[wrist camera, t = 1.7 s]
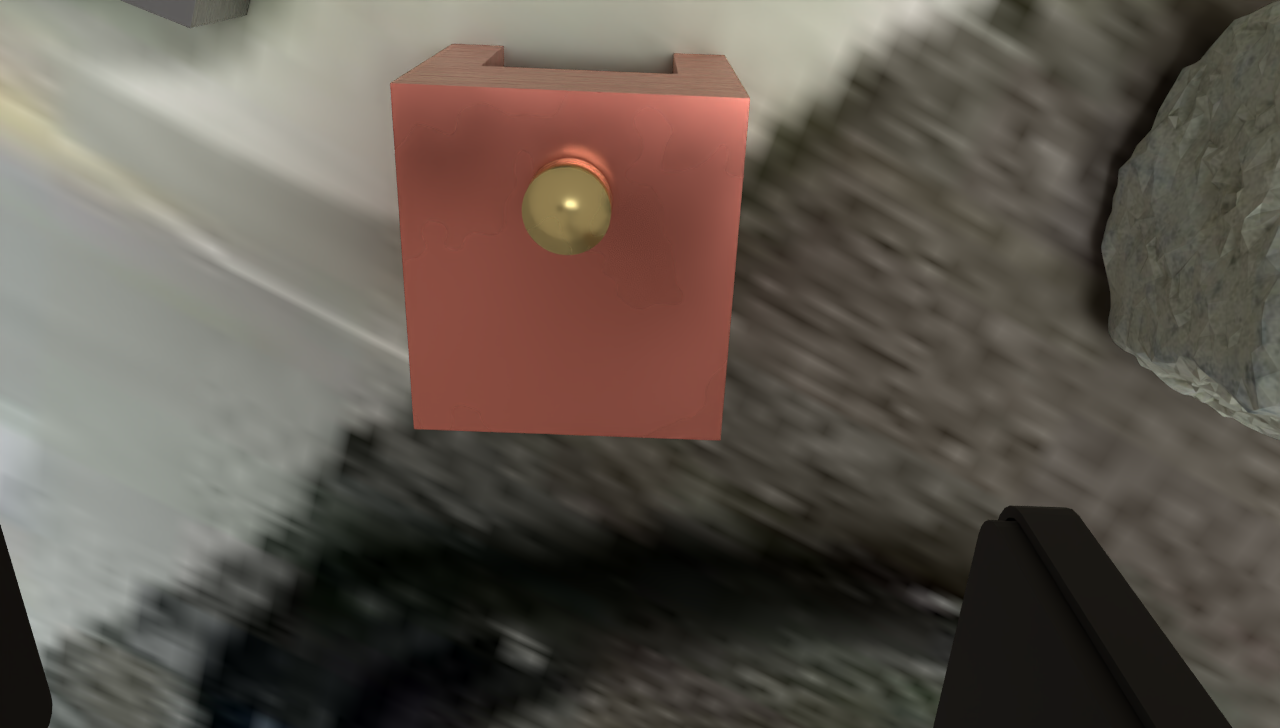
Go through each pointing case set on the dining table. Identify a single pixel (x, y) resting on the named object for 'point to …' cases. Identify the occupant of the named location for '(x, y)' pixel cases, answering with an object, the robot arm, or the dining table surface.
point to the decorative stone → (1207, 231)
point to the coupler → (194, 10)
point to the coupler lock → (569, 243)
